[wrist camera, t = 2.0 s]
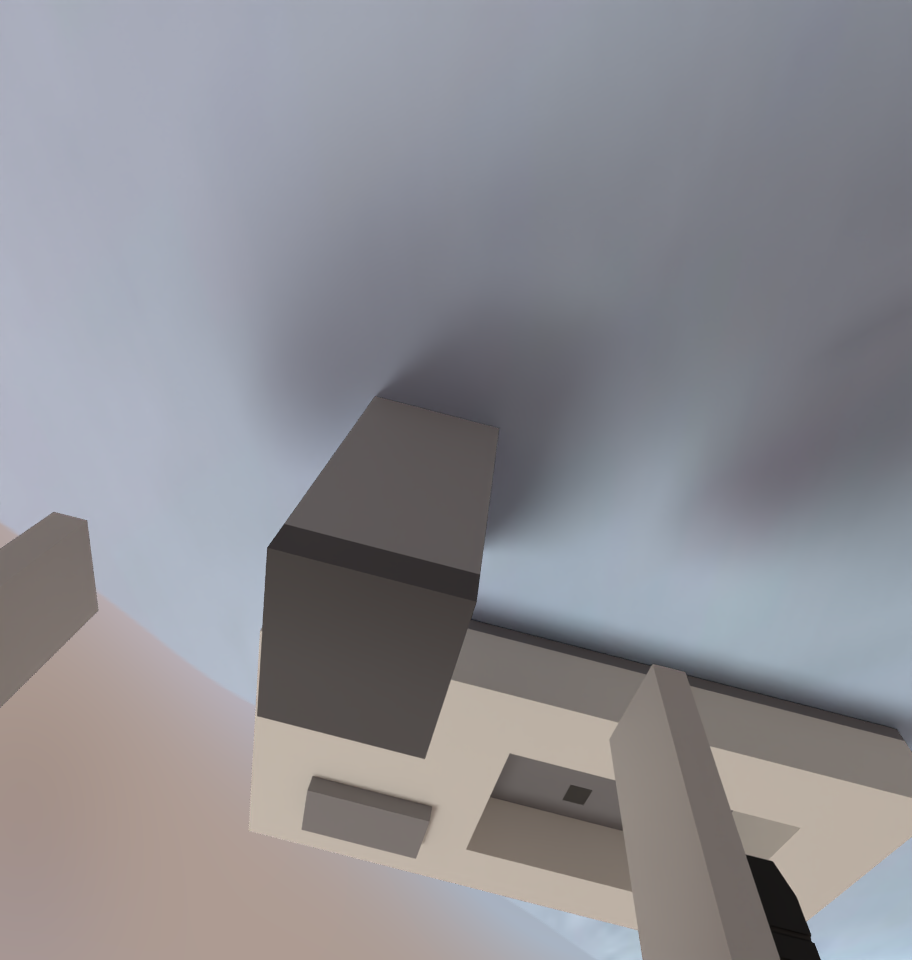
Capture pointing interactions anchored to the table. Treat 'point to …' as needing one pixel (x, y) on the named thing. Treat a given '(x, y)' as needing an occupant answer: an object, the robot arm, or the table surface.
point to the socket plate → (580, 782)
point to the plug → (378, 579)
